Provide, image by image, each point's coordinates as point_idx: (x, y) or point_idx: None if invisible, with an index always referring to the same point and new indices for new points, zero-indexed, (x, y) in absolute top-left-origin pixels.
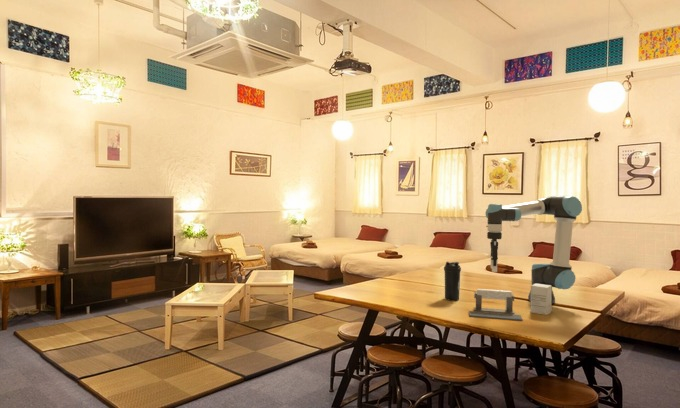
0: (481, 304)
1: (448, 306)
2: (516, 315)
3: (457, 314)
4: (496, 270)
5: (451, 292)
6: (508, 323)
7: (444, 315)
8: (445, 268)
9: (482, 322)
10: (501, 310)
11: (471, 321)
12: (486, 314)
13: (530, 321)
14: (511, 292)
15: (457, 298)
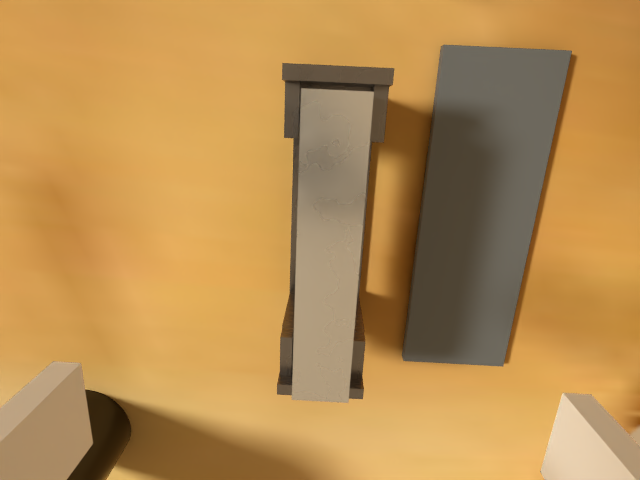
0: (360, 309)
1: (286, 446)
2: (463, 78)
3: (460, 413)
4: (612, 432)
5: (105, 471)
6: (633, 160)
7: (493, 468)
8: None
9: (619, 305)
10: None
11: (602, 357)
12: (471, 274)
13: None
14: (372, 93)
15: (104, 407)
